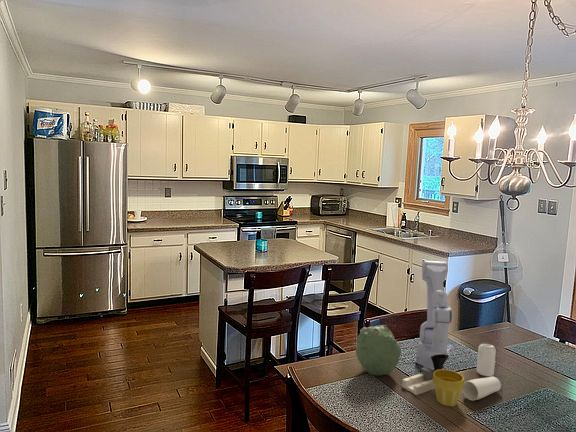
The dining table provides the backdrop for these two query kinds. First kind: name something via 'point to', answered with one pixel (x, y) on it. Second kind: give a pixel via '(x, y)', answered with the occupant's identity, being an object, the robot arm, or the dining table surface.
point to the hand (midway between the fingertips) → (437, 371)
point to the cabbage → (377, 350)
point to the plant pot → (447, 386)
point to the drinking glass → (481, 387)
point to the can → (486, 359)
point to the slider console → (417, 384)
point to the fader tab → (427, 373)
